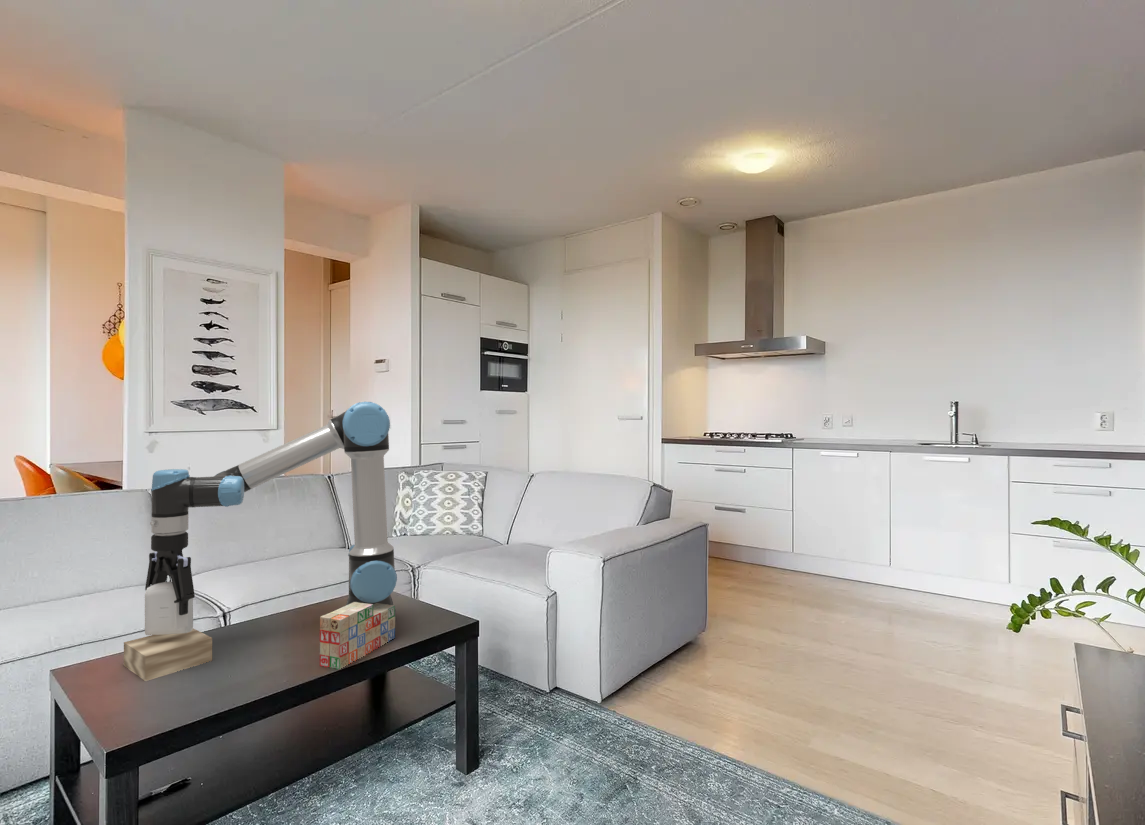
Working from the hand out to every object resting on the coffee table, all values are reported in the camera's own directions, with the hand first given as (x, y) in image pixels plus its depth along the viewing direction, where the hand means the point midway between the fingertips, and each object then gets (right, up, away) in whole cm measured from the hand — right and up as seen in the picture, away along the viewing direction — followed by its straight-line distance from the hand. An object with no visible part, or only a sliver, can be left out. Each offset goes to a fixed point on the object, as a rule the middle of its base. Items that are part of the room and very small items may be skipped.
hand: (169, 624), depth 144 cm
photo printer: (0, -2, 0) cm, 2 cm away
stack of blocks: (+44, -10, +8) cm, 46 cm away
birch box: (0, -10, 0) cm, 10 cm away
